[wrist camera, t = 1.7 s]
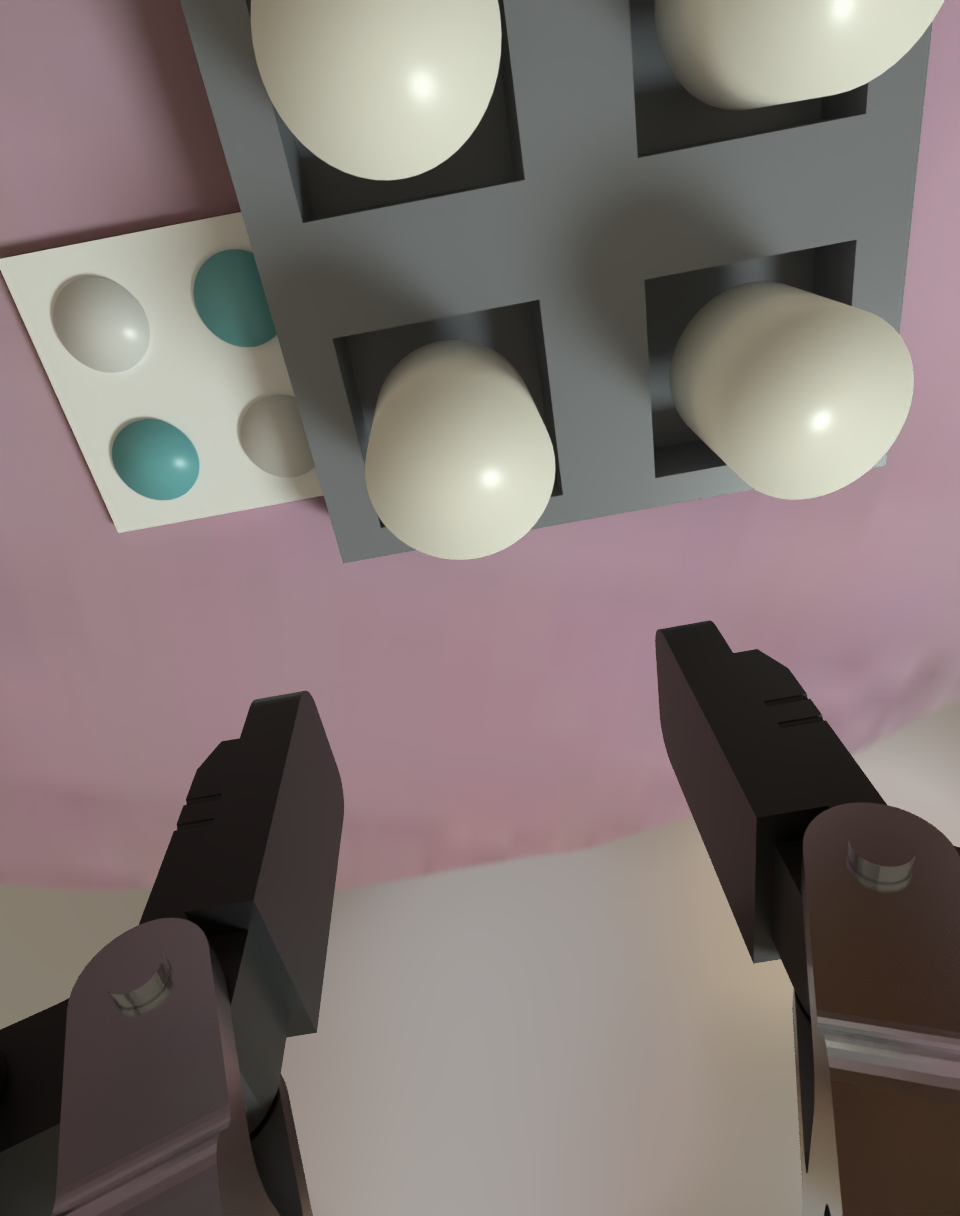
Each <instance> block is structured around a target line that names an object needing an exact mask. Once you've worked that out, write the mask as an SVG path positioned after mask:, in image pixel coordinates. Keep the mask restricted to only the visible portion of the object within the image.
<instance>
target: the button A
mask: <svg viewBox="0 0 960 1216" xmlns="http://www.w3.org/2000/svg"><path fill="white" fill-rule="evenodd" d="M251 31H252V42H253V47H254V52H255V57H256V62H257V65H258V68H259V72H260V75H261V78H262V81H263V84H264V86H265V88H266V90H267V93H268V95H269V97H270V100H271V101H272V103H273V105H274V107H275V108H276V110H277V112H278V114H279V115H280V117H281V118H282V120H283V121H284V123H285V124H286V125H287V127H288V128H289V129H290V131H291V132H292V133H293V134H294V135H295V136H296V137H297V139H298V140H299V141H300V142H301V143H302V144H303V145H304V146H305V147H306V148H308V149H309V150H310V151H311V152H312V153H313V154H315V155H316V156H317V157H319V158H320V159H322V160H323V161H325V162H326V163H328V164H329V165H331V166H333V167H335V168H337V169H339V170H341V171H343V172H345V173H348V174H351V175H354V176H357V177H361V178H367V179H372V180H397V179H405V178H409V177H412V176H416V175H419V174H422V173H424V172H426V171H428V170H431V169H433V168H434V167H436V166H438V165H439V164H441V163H442V162H444V161H446V160H447V159H448V158H449V157H450V156H452V155H453V154H454V153H455V152H456V151H457V150H459V148H460V147H461V146H462V145H463V144H464V143H465V142H466V141H467V140H468V138H469V137H470V136H471V134H472V133H473V131H474V130H475V129H476V127H477V126H478V124H479V122H480V120H481V119H482V117H483V115H484V113H485V111H486V109H487V107H488V104H489V101H490V99H491V96H492V94H493V91H494V87H495V83H496V79H497V75H498V70H499V63H500V56H501V35H502V34H501V19H500V10H499V5H498V0H251Z"/></svg>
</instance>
